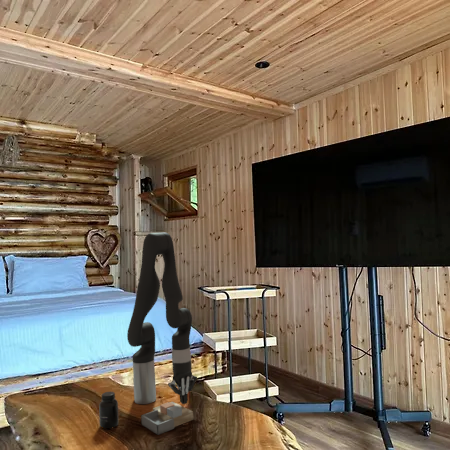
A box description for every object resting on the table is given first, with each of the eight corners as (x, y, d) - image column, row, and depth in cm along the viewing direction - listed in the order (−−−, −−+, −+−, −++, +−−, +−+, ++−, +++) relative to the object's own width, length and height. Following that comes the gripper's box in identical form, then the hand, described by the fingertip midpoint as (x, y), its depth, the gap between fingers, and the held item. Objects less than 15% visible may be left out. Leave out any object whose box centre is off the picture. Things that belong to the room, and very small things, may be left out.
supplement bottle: (99, 431, 153) (98, 398, 153) (100, 423, 160) (98, 392, 160) (118, 427, 155) (117, 395, 155) (118, 420, 161) (117, 389, 162)
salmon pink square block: (160, 411, 160) (160, 405, 160) (169, 408, 163) (168, 401, 163) (165, 414, 157) (165, 407, 157) (174, 411, 160) (174, 404, 160)
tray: (141, 424, 156) (141, 415, 157) (157, 418, 161) (157, 409, 161) (157, 434, 147) (157, 424, 147) (174, 428, 152) (173, 418, 152)
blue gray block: (167, 415, 156) (166, 408, 156) (176, 412, 159) (175, 405, 159) (173, 418, 153) (172, 411, 153) (182, 414, 156) (181, 408, 156)
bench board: (153, 416, 164) (152, 408, 164) (172, 408, 169) (172, 401, 170) (173, 427, 152) (172, 419, 153) (193, 419, 158) (193, 411, 158)
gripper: (189, 354, 173) (192, 396, 172) (162, 361, 164) (164, 405, 163) (200, 357, 167) (203, 401, 166) (172, 365, 158) (175, 411, 158)
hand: (184, 403), depth 165 cm, fingers closed
